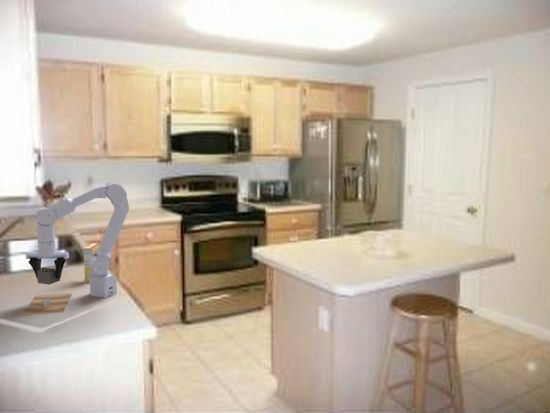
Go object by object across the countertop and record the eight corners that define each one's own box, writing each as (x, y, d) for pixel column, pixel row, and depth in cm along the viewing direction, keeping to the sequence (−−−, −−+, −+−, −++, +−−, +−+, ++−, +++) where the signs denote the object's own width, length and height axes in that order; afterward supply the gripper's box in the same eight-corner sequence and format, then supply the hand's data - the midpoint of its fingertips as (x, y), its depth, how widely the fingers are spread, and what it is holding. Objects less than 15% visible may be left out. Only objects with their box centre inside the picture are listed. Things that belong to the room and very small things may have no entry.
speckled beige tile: (50, 306, 165) (49, 298, 164) (43, 309, 162) (43, 300, 162) (48, 306, 165) (47, 298, 165) (41, 308, 162) (40, 300, 162)
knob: (60, 280, 172) (59, 266, 171) (49, 284, 167) (48, 269, 166) (48, 279, 174) (48, 264, 173) (37, 283, 169) (36, 268, 168)
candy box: (93, 277, 204) (91, 243, 202) (102, 277, 204) (101, 243, 202) (84, 283, 195) (82, 247, 193) (94, 283, 195) (92, 247, 193)
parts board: (35, 298, 176) (35, 295, 176) (72, 295, 180) (72, 292, 180) (21, 318, 156) (20, 315, 156) (63, 315, 160) (63, 312, 159)
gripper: (71, 238, 172) (73, 274, 174) (31, 239, 172) (34, 274, 174) (63, 242, 165) (65, 280, 167) (21, 243, 165) (24, 280, 167)
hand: (48, 277), depth 170 cm, fingers closed on knob, 6 cm apart
